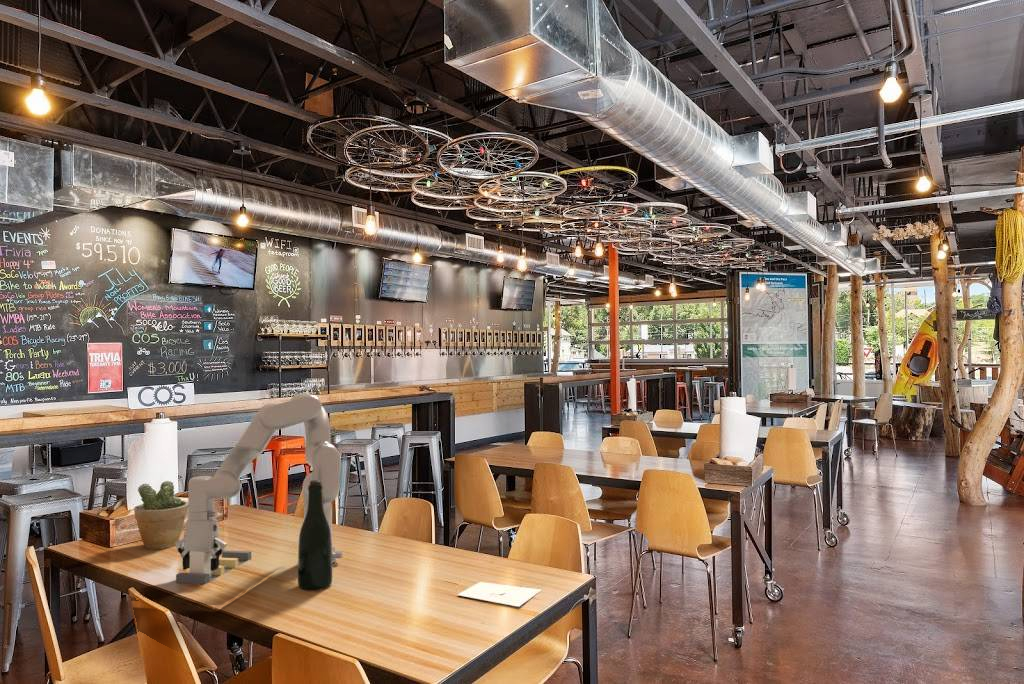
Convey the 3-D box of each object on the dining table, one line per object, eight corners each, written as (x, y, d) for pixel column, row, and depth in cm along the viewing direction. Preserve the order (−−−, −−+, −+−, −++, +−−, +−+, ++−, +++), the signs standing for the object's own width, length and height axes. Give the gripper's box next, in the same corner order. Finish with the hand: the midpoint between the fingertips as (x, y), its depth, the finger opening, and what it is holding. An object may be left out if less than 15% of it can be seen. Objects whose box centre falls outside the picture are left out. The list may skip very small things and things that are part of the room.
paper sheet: (450, 596, 191) (450, 592, 191) (503, 572, 215) (503, 569, 215) (515, 611, 178) (515, 607, 178) (564, 584, 203) (564, 581, 203)
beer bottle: (339, 583, 202) (339, 479, 203) (313, 593, 193) (314, 484, 194) (316, 578, 207) (316, 476, 208) (290, 587, 198) (290, 481, 199)
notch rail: (251, 562, 223) (251, 551, 224) (205, 588, 198) (205, 575, 198) (225, 561, 225) (225, 550, 225) (176, 587, 199) (176, 574, 199)
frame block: (211, 576, 205) (211, 548, 205) (203, 580, 201) (204, 551, 201) (197, 575, 206) (197, 547, 206) (189, 579, 202) (189, 551, 202)
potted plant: (152, 538, 256) (153, 476, 256) (197, 538, 255) (198, 476, 256) (123, 552, 237) (123, 485, 238) (171, 552, 237) (172, 485, 237)
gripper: (232, 513, 207) (232, 566, 206) (184, 512, 209) (183, 564, 208) (218, 519, 199) (218, 574, 199) (168, 517, 202) (168, 571, 201)
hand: (200, 569), depth 204 cm, fingers open, 9 cm apart
